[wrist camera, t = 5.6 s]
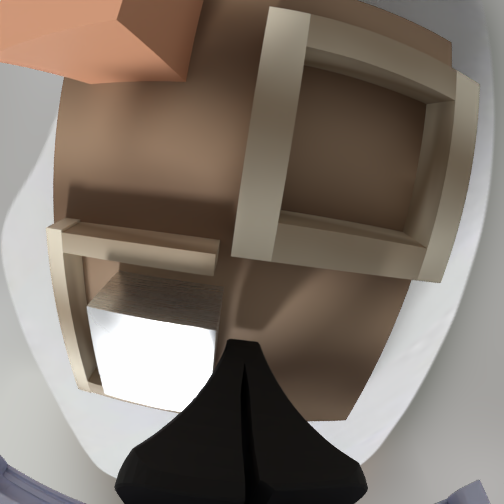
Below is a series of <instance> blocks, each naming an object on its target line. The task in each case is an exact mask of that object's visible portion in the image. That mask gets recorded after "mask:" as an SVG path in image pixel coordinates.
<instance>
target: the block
mask: <svg viewBox="0 0 504 504" xmlns="http://www.w3.org/2000/svg"><path fill="white" fill-rule="evenodd" d="M223 289H224V287H222V286H215V285H208V284H201V283H194V282H187V281H180V280H174V279H168V278H161V277H155V276H149V275H143V274H137V273H131V272H125V271H118V272H117V273H116V274H115V275H114V276H113V277H112V278H111V279H110V280H109V281H108V283H107V284H106V285H105V286H104V287H103V288H102V289H101V290H100V291H99V292H98V294H97V295H96V296H95V297H94V298H93V299H92V300H91V302H90V303H89V304H88V305H87V313H88V319H89V325H90V331H91V337H92V342H93V347H94V352H95V357H96V361H97V365H98V370H99V374H100V378H101V382H102V386H103V390H104V393H105V394H107V395H110V396H114V397H118V398H121V399H125V400H129V401H133V402H137V403H141V404H146V405H150V406H155V407H160V408H164V409H170V410H175V411H180V412H181V411H182V410H183V409H184V408H185V407H186V406H187V405H188V404H189V403H190V402H191V401H192V400H193V398H194V397H195V396H196V395H197V394H198V392H199V391H200V390H201V389H202V387H203V386H204V384H205V383H206V382H207V380H208V379H209V377H210V376H211V374H212V373H213V371H214V368H215V358H216V349H217V340H218V331H219V322H220V314H221V305H222V297H223Z"/></svg>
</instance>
